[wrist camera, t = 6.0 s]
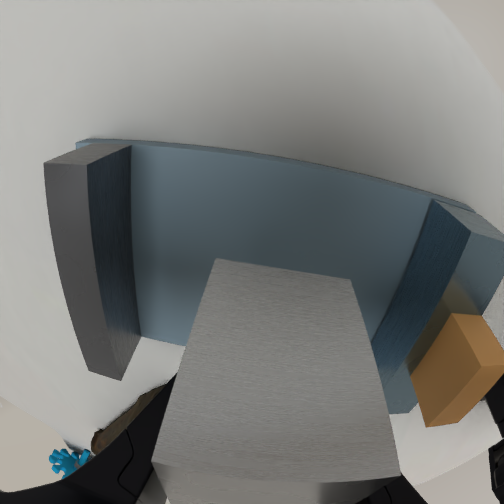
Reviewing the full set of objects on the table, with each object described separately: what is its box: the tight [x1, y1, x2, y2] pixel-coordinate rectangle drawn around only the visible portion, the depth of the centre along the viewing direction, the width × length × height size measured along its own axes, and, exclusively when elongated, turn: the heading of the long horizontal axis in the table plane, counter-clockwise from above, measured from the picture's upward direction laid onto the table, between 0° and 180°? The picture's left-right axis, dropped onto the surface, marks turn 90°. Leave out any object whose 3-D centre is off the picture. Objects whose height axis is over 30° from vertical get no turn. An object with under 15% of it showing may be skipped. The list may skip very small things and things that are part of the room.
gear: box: [49, 449, 90, 479], centre depth 33 cm, size 11×6×10 cm
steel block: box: [151, 258, 401, 504], centre depth 8 cm, size 4×7×6 cm, turn 172°
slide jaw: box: [371, 200, 504, 427], centre depth 11 cm, size 3×11×6 cm, turn 172°
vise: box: [44, 139, 476, 381], centre depth 13 cm, size 19×11×4 cm, turn 82°
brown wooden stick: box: [91, 385, 165, 455], centre depth 23 cm, size 19×4×5 cm, turn 140°
